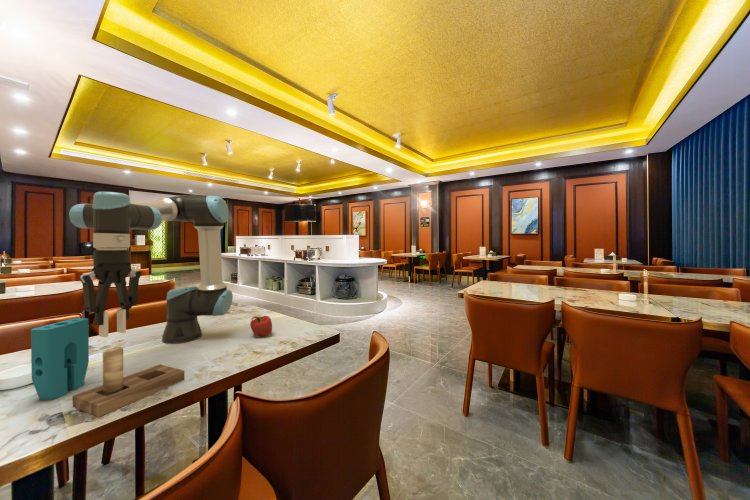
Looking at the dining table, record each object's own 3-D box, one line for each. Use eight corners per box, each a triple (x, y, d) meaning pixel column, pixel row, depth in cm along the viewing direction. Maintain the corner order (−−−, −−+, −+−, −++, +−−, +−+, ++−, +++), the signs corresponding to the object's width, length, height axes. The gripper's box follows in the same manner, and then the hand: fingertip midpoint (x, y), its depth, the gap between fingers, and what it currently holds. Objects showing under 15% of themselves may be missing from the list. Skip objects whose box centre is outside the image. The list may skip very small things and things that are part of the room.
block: (74, 381, 91) (74, 318, 91) (90, 382, 91) (90, 318, 91) (29, 402, 79) (28, 329, 79) (48, 403, 79) (47, 329, 79)
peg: (99, 402, 80) (99, 351, 79) (118, 395, 84) (117, 346, 83) (108, 406, 78) (108, 354, 78) (127, 398, 82) (126, 349, 82)
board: (72, 406, 78) (72, 395, 78) (160, 373, 98) (160, 364, 98) (98, 417, 73) (98, 405, 73) (184, 379, 94) (184, 370, 93)
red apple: (257, 341, 131) (258, 319, 130) (243, 337, 136) (243, 315, 136) (277, 335, 140) (277, 314, 140) (263, 331, 145) (263, 311, 145)
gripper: (80, 250, 71) (81, 345, 72) (153, 249, 86) (153, 328, 87) (64, 249, 74) (65, 341, 74) (137, 248, 89) (137, 325, 90)
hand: (112, 334), depth 81 cm, fingers open, 3 cm apart
